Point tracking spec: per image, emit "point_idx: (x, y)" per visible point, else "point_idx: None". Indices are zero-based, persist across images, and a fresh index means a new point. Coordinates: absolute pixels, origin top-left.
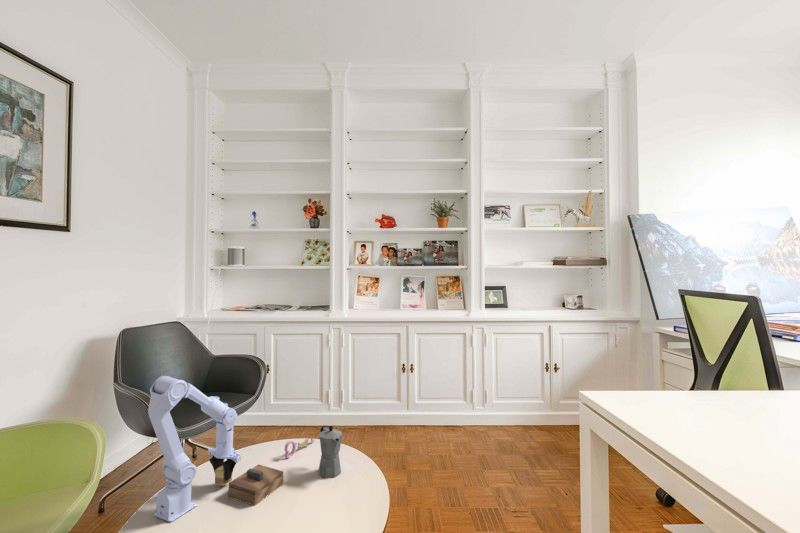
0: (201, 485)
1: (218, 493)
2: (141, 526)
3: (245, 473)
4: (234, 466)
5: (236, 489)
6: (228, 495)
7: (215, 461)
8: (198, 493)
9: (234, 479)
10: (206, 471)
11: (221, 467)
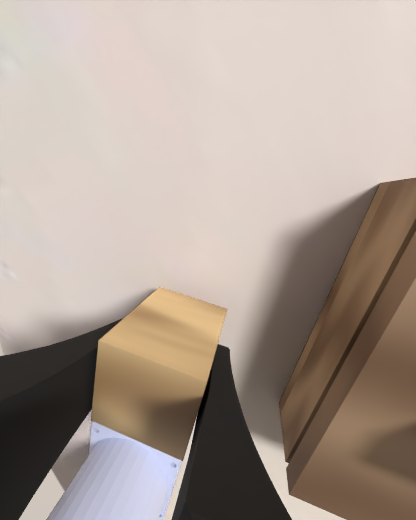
0: (90, 319)
1: None
2: None
3: (373, 379)
4: (247, 428)
5: None
6: (280, 409)
7: (14, 507)
8: None
9: (310, 459)
10: (12, 192)
11: (114, 392)
